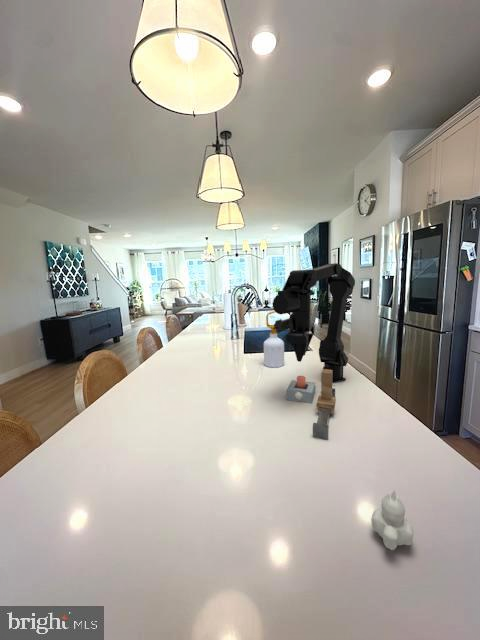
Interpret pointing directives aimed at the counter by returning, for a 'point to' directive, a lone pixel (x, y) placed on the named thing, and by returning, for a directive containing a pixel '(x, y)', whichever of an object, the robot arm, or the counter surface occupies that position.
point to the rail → (322, 422)
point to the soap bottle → (273, 348)
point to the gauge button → (301, 382)
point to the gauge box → (300, 392)
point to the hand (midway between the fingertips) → (301, 358)
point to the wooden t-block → (326, 391)
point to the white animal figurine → (392, 522)
